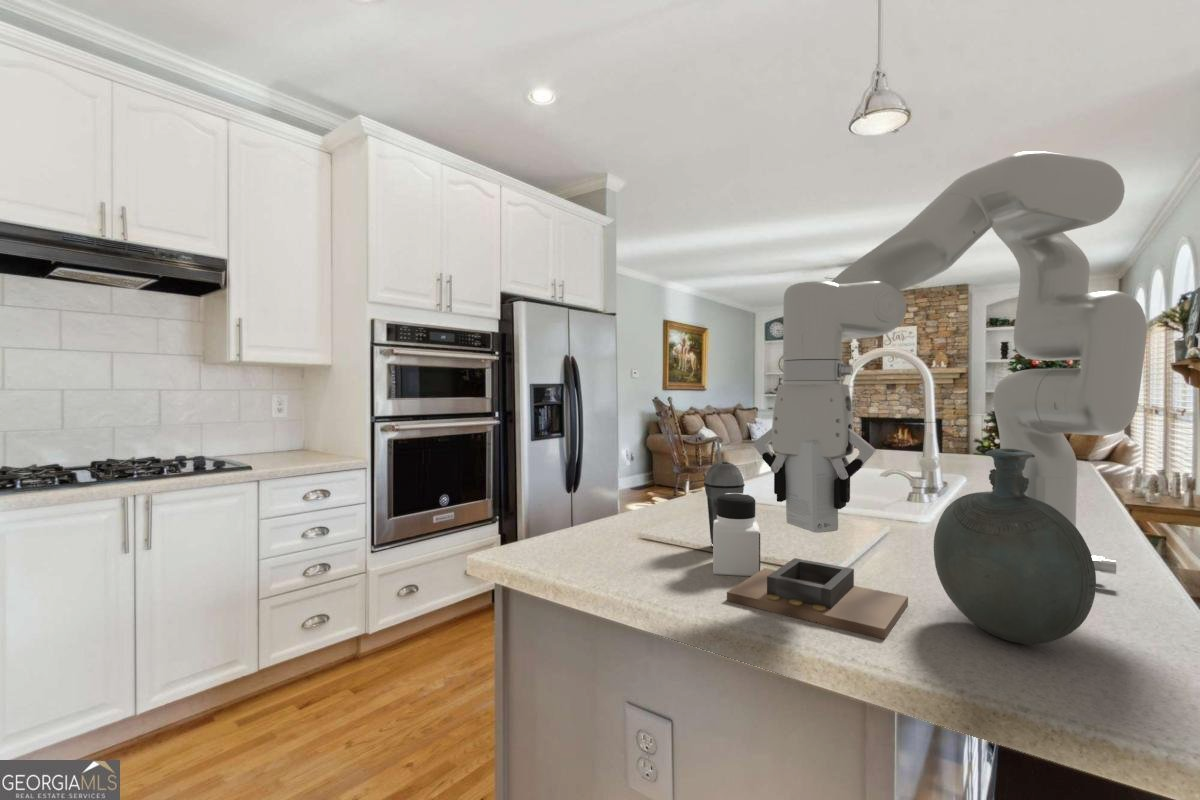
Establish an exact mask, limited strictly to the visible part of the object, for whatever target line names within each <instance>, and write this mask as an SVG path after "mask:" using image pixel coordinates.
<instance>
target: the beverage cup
mask: <svg viewBox="0 0 1200 800" xmlns="http://www.w3.org/2000/svg"><path fill="white" fill-rule="evenodd" d="M715 440H716V441H715V442H716V449H717V450H716V451H717V458H718V462H717V463H715V464H713V465H711V466H710V467H709V468H708V470H707V472H706V474H705V476H704V482H703V485H704V491H705V496H706V499H707V500H706V501H707V512H708V524H709V534H710V543H712V544H713V522H714V520H717V498H718V497H719V496H720V495H723V494H726V493H741V494H744V490H745V486H746V485H745V482H744V480H745V479H744V477H743V474H742V471H741V470H740V469H739V467H737V465H735V464H734V463H731V462H728V461H722V460H723V459H722V451H721V445H720V437H716V438H715ZM712 544H711V545H712Z"/></svg>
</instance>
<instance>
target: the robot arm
mask: <svg viewBox="0 0 1200 800" xmlns="http://www.w3.org/2000/svg"><path fill="white" fill-rule="evenodd" d="M1125 190H1126V189H1125V184H1124V179H1123V178H1122V176H1121V174H1120V173H1119V171H1118V170H1117V169H1116V168H1115V167H1113V166H1112V165H1111V164H1110V163H1107V162H1105V161H1103V160H1098V159H1094V158H1088V157H1082V156H1076V155H1070V154H1064V153H1058V152H1057V153H1056V152H1050V151H1040V150H1039V151H1038V150H1037V151H1036V150H1035V151H1033V150H1032V151H1021V152H1016V153H1013V154H1011V155H1009V156H1006V157H1002V158H1001V159H999V160H996V161H993V162H992V163H989V164H987V165H984V166H981V167H978V168H975V169H974V170H971V171H969V172H967V173H965V174H962V175H960V177H958V178H957V179H956V180H954V181H953V182H952V183H951V184H950V185H948V186H947V188H945V189H944V190H943V191H942V192H941V193H940V194H939V195H938V196H937V197H936V198H935V199H933V200H932V202H930V203H929V204H928V205H927V206H926V207H925V208H923V210H922V211H921V212H920V213H919V214H917V215H916V216H915V217H914V218H913V219H912V220H911V221H909V222H908V223H907V224H906V225H905V226H904V227H903V228H902V229H900V230H899V231H898V232H896V233H895V234H893V235H892V236H890V237H888V238H887V239H885V240H884V241H882V242H881V243H880V244H879V245H877V246H876V247H875V248H873V249H872V250H871V251H868V253H865V254H864V255H863V256H861V257H859V259H856V261H854V262H853V263H851V264H850V265H849V266H847V267H845V268H844V269H843V270H842V271H841V272H840V273H839V274H838V275H836V276H835V277H834V278H833V279H832V280H831V281H825V280H824V281H823V280H819V281H816V280H815V281H814V280H813V281H806V282H805V281H804V282H798V283H794V284H792V285H790V286H789V287H787V288H786V290H785V291H784V294H783V311H782V312H783V316H782V317H783V318H782V319H783V327H782V328H783V331H782V332H783V333H782V334H783V339H782V340H783V341H782V344H783V345H782V347H783V348H782V360H783V361H782V365H783V366H782V384H778V385H777V390H776V395H775V401H774V404H773V405H774V406H773V413H772V425H771V428H770V429H769V430H767V432H765V433H764V434H763V435H762V436H760V437H759V438H757V439H756V440H755V441H754V442H753V446H754V448H755V449H756V451H757V452H758V454H759V455H761V458H762V460H763V461H764V463H766V464H767V466H768V467H769V468H770V470H771V472H772V473H773V491H774V492H773V493H774V495H776V501H777V502H780V503H782V502H784V501H785V502H786V480H785V460H786V458H788V456H798V455H800V450H801V446H802V442H804V441H816V442H819V443H820V449H821V455H822V457H823V458H825V459H830V460H831V462H832V464H833V466H834V468H835V470H836V472H837V479H835V480H834V508H836V509H838V510H842V509H843V508H845V507H846V506H847V503H849V502H850V501H851V477H853V475H855V474H856V473H857V472H858V471H859V470H861V469H862V468H863V467H864V466H865V464H866V463H867V462H868V461H870V460H871V458H873V456H874V455H875V454H876V452H877V450H876V448H874V446H872V445H871V444H870V443H869V442H867V441H866V440H865V439H863V438H862V437H861V435H859V434H858V433H857V432H855V425H854V414H853V405H852V398H851V391H850V387H849V384H842V381H843V380H844V378H845V377H847V376H853V373H854V367H853V365H851V364H846V363H844V360H843V359H842V358H843V357H842V355H843V351H842V350H843V349H842V348H843V341H845V340H853V339H867V338H875V337H876V338H877V337H879V336H884V335H887V334H889V333H891V332H893V331H894V330H895V329H897V328H898V327H899V326H900V325H901V324H902V322H903V321H904V319H905V317H906V313H907V300H906V297H905V296H904V294H903V293H902V291H903V290H906V289H908V288H912V287H914V286H916V285H918V284H921V283H924V282H926V281H928V280H930V279H932V278H934V277H936V276H938V275H940V274H942V273H944V272H945V271H947V270H948V269H950V268H951V267H952V266H953V265H954V264H955V263H956V262H957V260H959V259H960V258H961V257H962V256H963V255H964V254H965V253H966V252H967V251H968V250H970V248H971V247H972V246H973V245H974V244H975V243H976V242H978V240H979V239H981V238H982V237H983V236H984V235H985V234H986V233H987V232H988V231H989V230H990V229H992V230H993V232H994V233H995V234H996V236H997V237H998V238H999V239H1000V240H1001V242H1003V243H1004V244H1005V246H1006V247H1007V248H1008V249H1009V251H1010V252H1011V253H1012V255H1013V257H1014V258H1015V260H1016V262H1017V264H1018V267H1019V287H1018V288H1019V289H1018V295H1017V296H1018V297H1017V303H1016V304H1017V305H1016V311H1015V318H1014V319H1015V320H1014V327H1013V328H1014V329H1013V344H1014V349H1015V350H1016V352H1017V353H1018V354H1019V356H1021V357H1023V358H1025V359H1028V360H1034V361H1050V362H1051V361H1076V360H1077V361H1079V360H1080V367H1077V368H1076V367H1073V368H1069V367H1068V368H1063V367H1061V368H1060V367H1056V368H1055V367H1054V368H1029V369H1023V370H1018V371H1014V372H1012V373H1009V374H1008V375H1006V376H1004V378H1002V379H1000V381H999V382H998V383H997V385H996V386H995V388H994V392H993V396H992V398H993V399H992V404H993V410H994V415H995V419H996V420H995V421H996V424H997V430H998V435H999V449H1018V450H1023V451H1027V452H1030V453H1032V454H1034V455H1035V457H1032V458H1028V459H1027V460H1026V463H1025V467H1024V470H1022V473H1023V476H1024V478H1028V479H1029V485H1027V486H1028V488H1027V490H1026V492H1025V493H1024V494H1025V495H1026V496H1028V497H1030V498H1033V499H1036V500H1039V501H1042V502H1044V503H1046V504H1048V505H1050V506H1052V507H1053V508H1055V509H1056V510H1058V511H1059V512H1060V513H1061V514H1063V515H1064V516H1065V517H1066V518H1067V519H1068V520H1069V521H1070V522H1071V523H1072V524H1073V525H1074V526H1075V527H1076V528H1077V495H1078V494H1077V493H1078V485H1077V484H1078V482H1077V481H1078V463H1077V461H1078V460H1077V458H1076V454H1075V451H1074V450H1073V448H1072V446H1071V444H1070V442H1069V441H1068V439H1067V437H1066V436H1065V434H1073V435H1074V434H1075V435H1086V436H1112V435H1115V434H1118V433H1120V432H1122V431H1124V430H1125V429H1126V428H1127V427H1128V426H1129V425H1130V424H1131V422H1132V421H1133V419H1134V417H1135V415H1136V411H1137V408H1138V403H1139V397H1140V391H1141V384H1142V375H1143V368H1144V362H1145V361H1144V360H1145V353H1146V346H1147V345H1146V344H1147V335H1148V325H1147V323H1148V322H1147V318H1146V315H1145V313H1144V309H1143V307H1142V306H1141V304H1140V303H1139V302H1138V301H1137V299H1136V298H1134V297H1133V296H1132V295H1130V294H1128V293H1125V292H1123V291H1118V290H1117V291H1116V290H1105V291H1104V290H1102V291H1096V292H1089V286H1090V282H1089V281H1090V273H1091V271H1090V267H1091V266H1090V262H1089V260H1088V257H1087V255H1086V254H1085V253H1084V251H1083V250H1082V248H1081V247H1080V246H1079V245H1078V244H1077V243H1075V242H1074V241H1073V240H1072V239H1071V238H1070V237H1069V236H1068V235H1067V234H1065V232H1070V231H1073V230H1077V229H1081V228H1084V227H1085V228H1086V227H1090V226H1092V225H1096V224H1100V223H1101V222H1104V221H1105V220H1107V219H1108V218H1110V217H1111V216H1113V215H1114V214H1115V213H1116V212H1117V211H1118V210H1119V208H1120V207H1121V205H1122V204H1123V200H1124V196H1125ZM770 443H771V447H772V450H773V451H771V449H770V447H769V444H770ZM855 448H856V449H857V450H858V451H859V452H858V453H859V454H858V455H857V456H856V457H855V458H854V459H853V460H852V461H851V462H849V460H848V459H847V457H846V456H850V455H852V454H853V452H854V450H855ZM774 452H775V453H776V454H777V455H776V454H775V453H774ZM1091 556H1092V559H1093V562H1094V567H1095V572H1097V571H1098V572H1099V573H1105V574H1110V575H1111V574H1112V575H1117V560H1111V559H1105V557H1103V556H1097V555H1091Z"/></svg>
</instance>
